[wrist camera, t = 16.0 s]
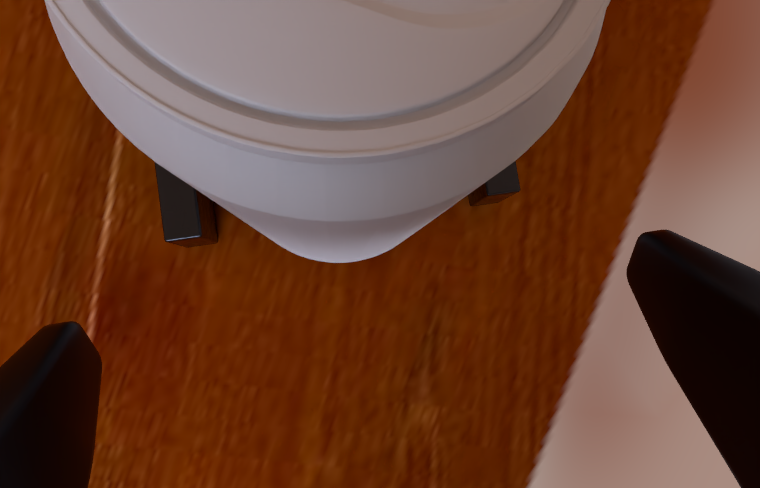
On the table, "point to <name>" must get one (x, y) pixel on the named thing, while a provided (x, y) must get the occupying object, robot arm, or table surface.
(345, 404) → the table surface
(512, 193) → the rack bay
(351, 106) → the beverage can
